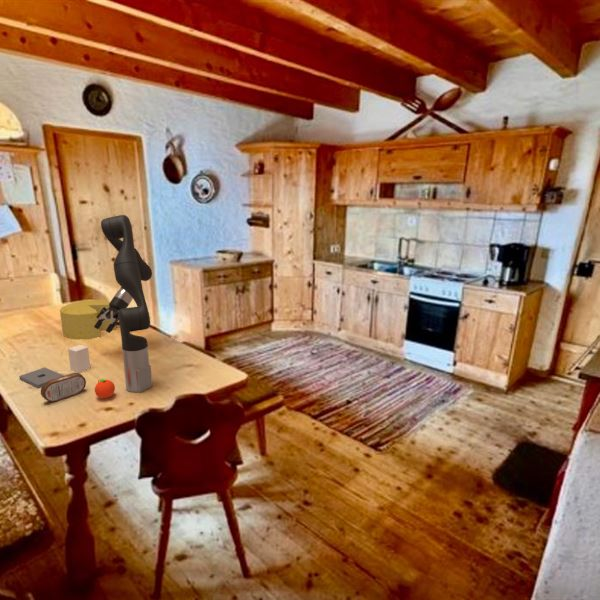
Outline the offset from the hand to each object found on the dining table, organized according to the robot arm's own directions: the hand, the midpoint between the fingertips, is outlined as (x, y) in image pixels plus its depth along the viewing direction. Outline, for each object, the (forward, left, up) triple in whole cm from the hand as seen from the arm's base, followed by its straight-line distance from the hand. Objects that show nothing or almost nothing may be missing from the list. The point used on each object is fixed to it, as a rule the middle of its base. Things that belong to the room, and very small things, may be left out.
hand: (101, 330), depth 177 cm
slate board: (+4, +26, -15) cm, 30 cm away
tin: (-18, +29, -15) cm, 37 cm away
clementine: (-30, +21, -15) cm, 39 cm away
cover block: (0, +12, -15) cm, 19 cm away
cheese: (+41, -19, -15) cm, 48 cm away
